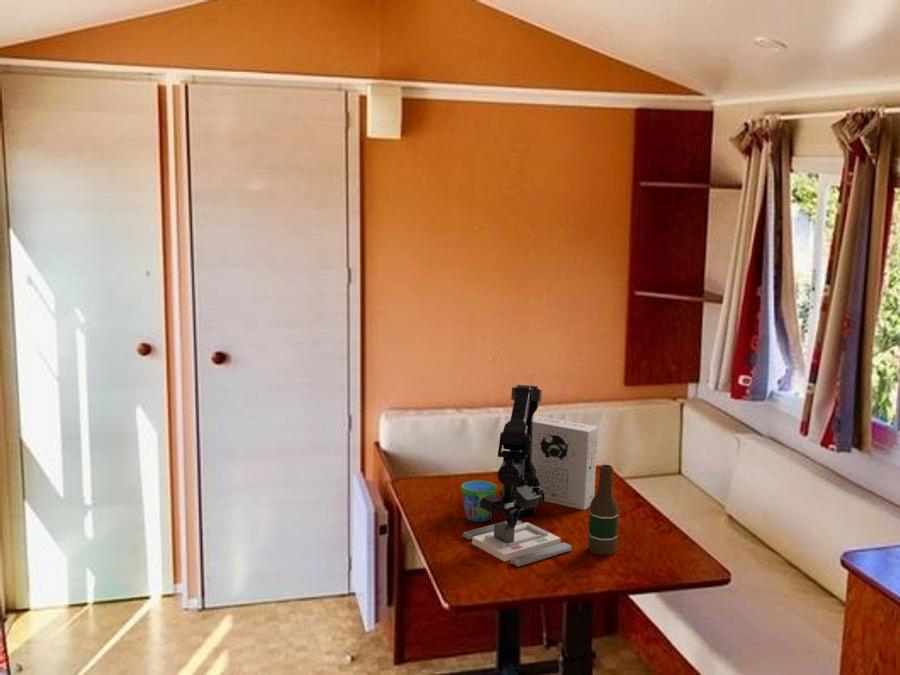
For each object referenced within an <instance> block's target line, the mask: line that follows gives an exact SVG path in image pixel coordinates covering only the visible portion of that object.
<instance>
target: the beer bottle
mask: <svg viewBox="0 0 900 675" xmlns="http://www.w3.org/2000/svg"><path fill="white" fill-rule="evenodd" d="M598 469H599V479H598V487H597V491H596V494H595V495H594V498H593V500H592V502H591V504H590V506H589V516H588V518H589V519H588V535H587V536H588V539H587V548H588V550H589V552H590V551H591V552H592V553H591V552H590V553H591V554H594V553H596V554H595V555H597V554H599V555H598V556H600V555H605V556H612V555H613V554H615V553H616V552H617V546H618V545H617V543H618V530H619V529H618V528H619V505H618V502H617V500H616V498H615V496H614V493H613V472H614V468H613V466H612V465H610V464H601V465H599V468H598ZM614 552H615V553H614ZM612 553H613V554H612ZM611 554H612V555H611Z"/></svg>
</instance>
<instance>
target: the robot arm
mask: <svg viewBox="0 0 900 675" xmlns="http://www.w3.org/2000/svg"><path fill="white" fill-rule="evenodd" d="M542 393H543V392H542V389H540V388H539V386H537V385H522V384H517V385H516V386H513V387H511V395H510V396H511V397H510V400H511V401H513V406H512V410H511V415H510V420H509V421H508V422H506V423H505V424H504V427H503V430H502V431H501V432H500V435H499V444H498V452H497V457H498V458H502V459H503V461H502V463H501V464H500V467H499V469H498V472H497V478H498V481H499V482H500V483H501V484H502V490H499V492H498V493H499V495H500V496H501V497H498V496H496V495H495V496H493V495H491V496H487V497H483V498H482V499H481V500H480V507H481V508H483V509H485V510H487V511H489V512H491V513H492V514H497V513H500V512H501V513H502V514H503V516H504V519H505V521H507V523H508V525H510V526H512V527H514V528H515V525H516V523H517V520H519V518H521V519H525V518H528V517H531V516H536V515H538V513H539V512H538V511H536V510H535V508H536V507H537V505H538V503H539V502H544V501H543V500H544V497H545V494H544V492H543V489H542V488H541V487H540V482H539V481H538V477H536V469H535V467H534V466H533V464H532V462H531V457H532V434H533V417H534V414H535V413H536V411H537V410H538V408H539V406H540V403H541V402H542V395H543V394H542Z"/></svg>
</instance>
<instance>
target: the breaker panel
mask: <svg viewBox="0 0 900 675" xmlns="http://www.w3.org/2000/svg"><path fill="white" fill-rule="evenodd" d="M561 539H562V538H561V537H560V536H557V535H555V534H553V533H551V532H549V531H547V530H545V529H542V528H540V527H539V526H536V525H534V524H532V523H530V522H523V523H522V524H519V525H515V528H514V542H511V543H507V544H506V543H504V542H502V541H500V540H498V539H496V538H494V531H493V532H489V533H485V534H482V535H478V536H474V537H472V541H471V543H472V545H473V546H475V547H477V548H479V549H481V550H482V551H484V552H486V553H488V554H490V555H492V556H494V557H495V558H498V559H499V560H501V561H503V562H504V563H505V562H507V561H510V560H511V558H513V557H516V556H520V555H523V554H527V553H530V552H533V551H537V550H540V549H544V548H547V547H550V546H554V545H557V544H560V543H562V542H561Z"/></svg>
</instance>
